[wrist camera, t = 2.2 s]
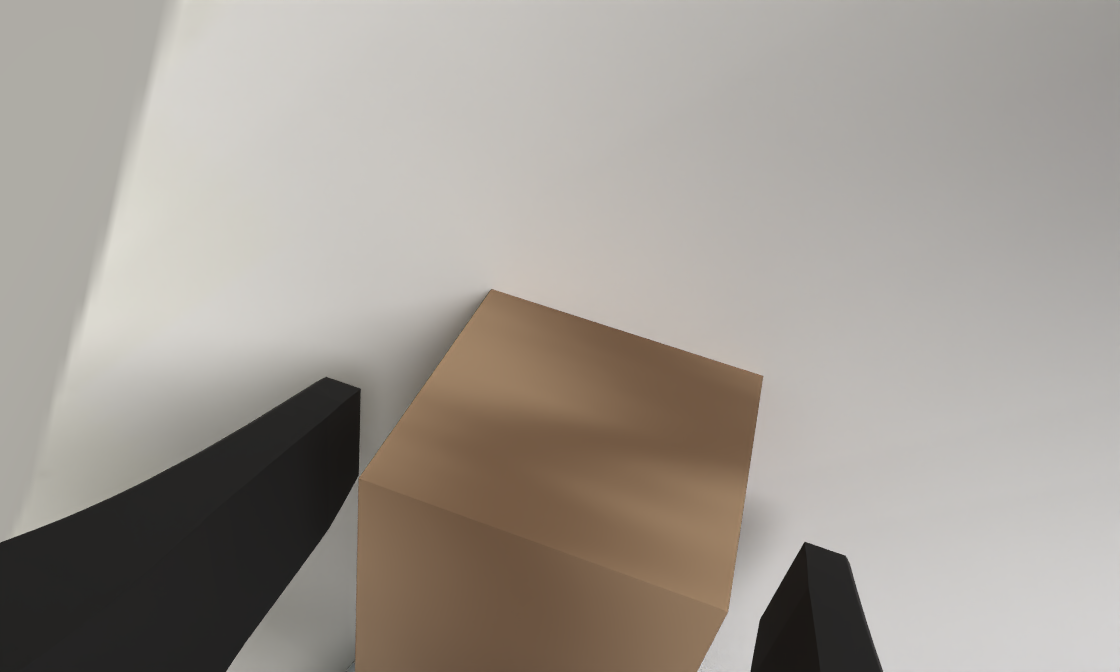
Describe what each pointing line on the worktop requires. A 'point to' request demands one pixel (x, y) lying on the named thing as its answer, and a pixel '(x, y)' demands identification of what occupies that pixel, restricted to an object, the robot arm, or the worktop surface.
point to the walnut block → (554, 503)
